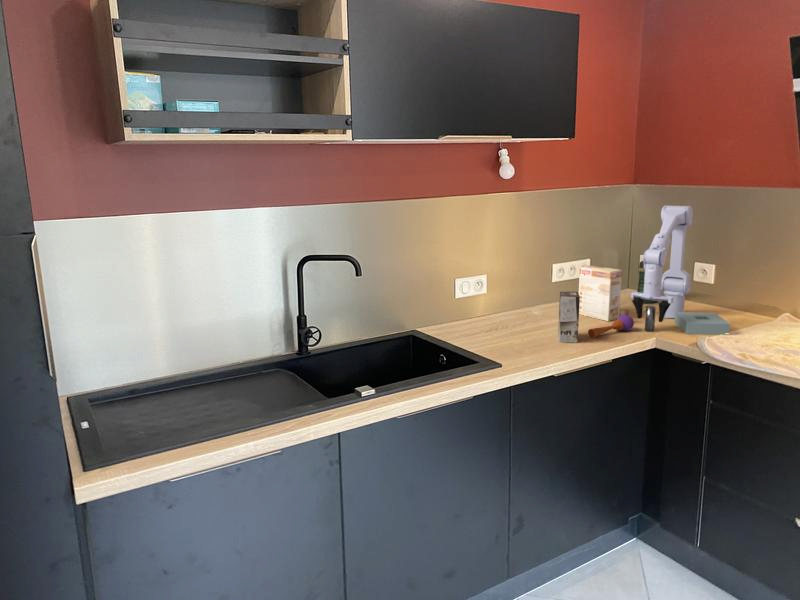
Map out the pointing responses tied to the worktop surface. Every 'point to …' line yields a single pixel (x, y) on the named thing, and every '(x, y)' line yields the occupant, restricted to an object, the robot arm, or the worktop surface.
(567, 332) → the coffee box
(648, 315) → the long pin
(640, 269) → the coffee jar
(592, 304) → the coffeecake box
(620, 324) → the kendama
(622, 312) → the short pin
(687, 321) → the hole block
